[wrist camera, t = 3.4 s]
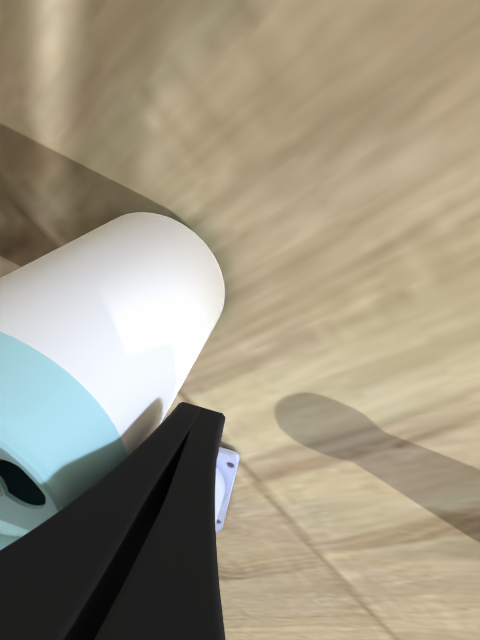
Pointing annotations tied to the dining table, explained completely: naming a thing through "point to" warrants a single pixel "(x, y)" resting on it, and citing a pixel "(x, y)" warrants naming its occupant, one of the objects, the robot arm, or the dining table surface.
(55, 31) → the dining table surface
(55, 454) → the can
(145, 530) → the robot arm
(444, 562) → the dining table surface
